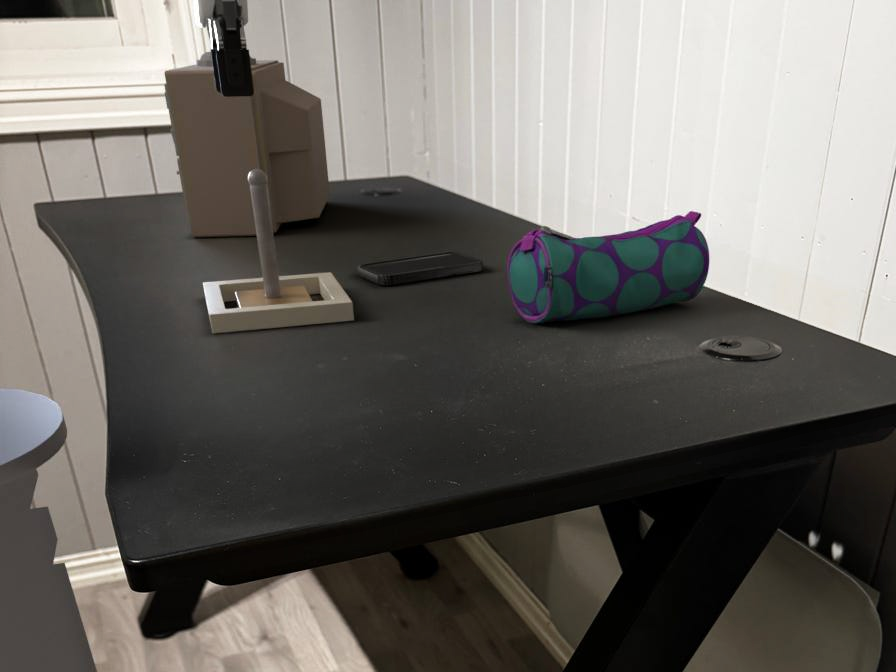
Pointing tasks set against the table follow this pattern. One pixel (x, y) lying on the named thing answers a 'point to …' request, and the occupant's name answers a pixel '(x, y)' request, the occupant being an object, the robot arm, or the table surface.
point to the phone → (419, 268)
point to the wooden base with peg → (267, 254)
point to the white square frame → (280, 315)
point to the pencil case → (607, 271)
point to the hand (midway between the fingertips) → (234, 94)
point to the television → (245, 148)
